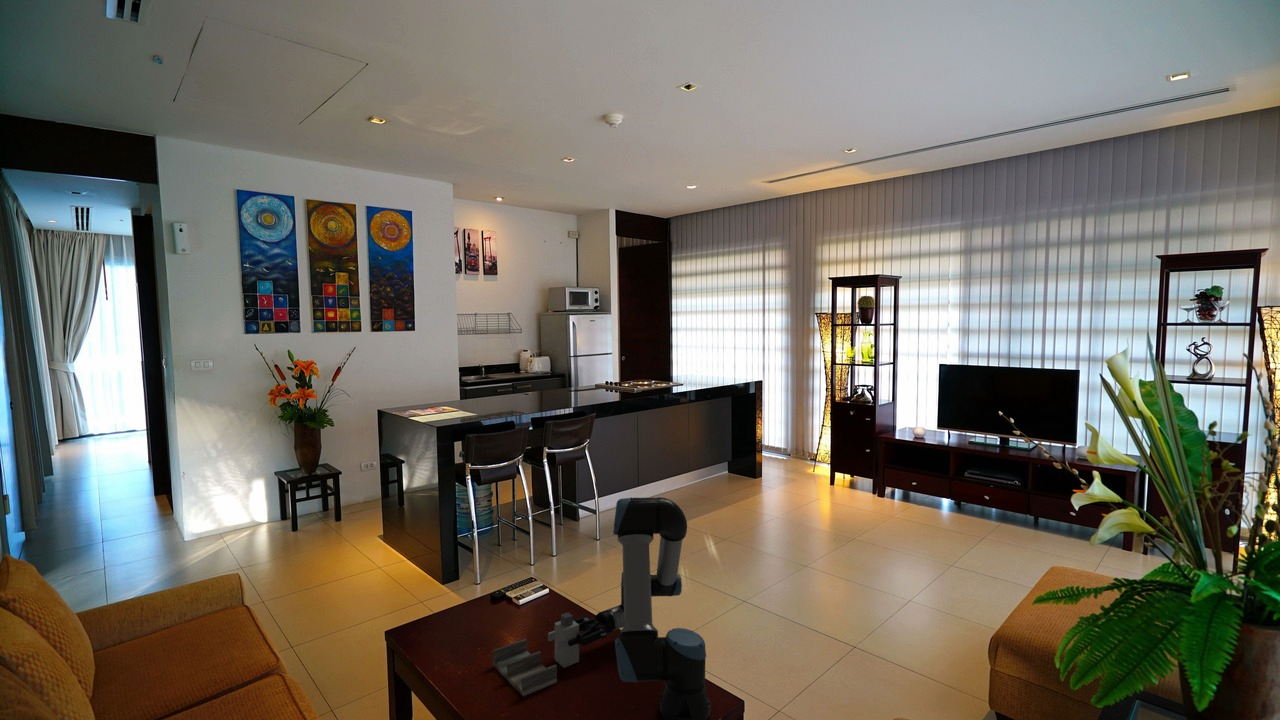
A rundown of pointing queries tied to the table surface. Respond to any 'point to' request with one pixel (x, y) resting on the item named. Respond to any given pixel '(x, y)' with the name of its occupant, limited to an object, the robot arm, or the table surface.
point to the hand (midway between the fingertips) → (553, 641)
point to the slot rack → (523, 668)
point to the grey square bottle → (564, 631)
